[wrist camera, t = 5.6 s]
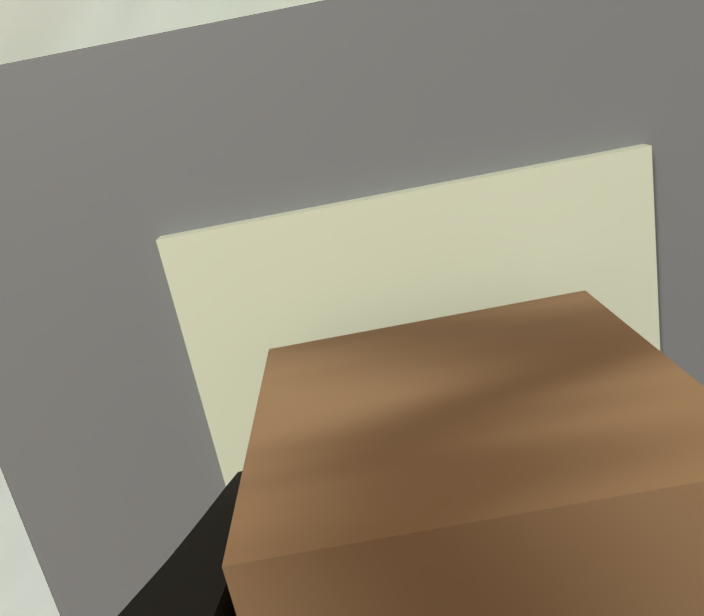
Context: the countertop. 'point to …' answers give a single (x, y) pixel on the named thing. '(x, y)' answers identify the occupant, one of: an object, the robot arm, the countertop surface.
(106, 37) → the countertop surface
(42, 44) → the countertop surface
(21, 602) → the countertop surface
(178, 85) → the slate board
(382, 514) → the walnut cube
